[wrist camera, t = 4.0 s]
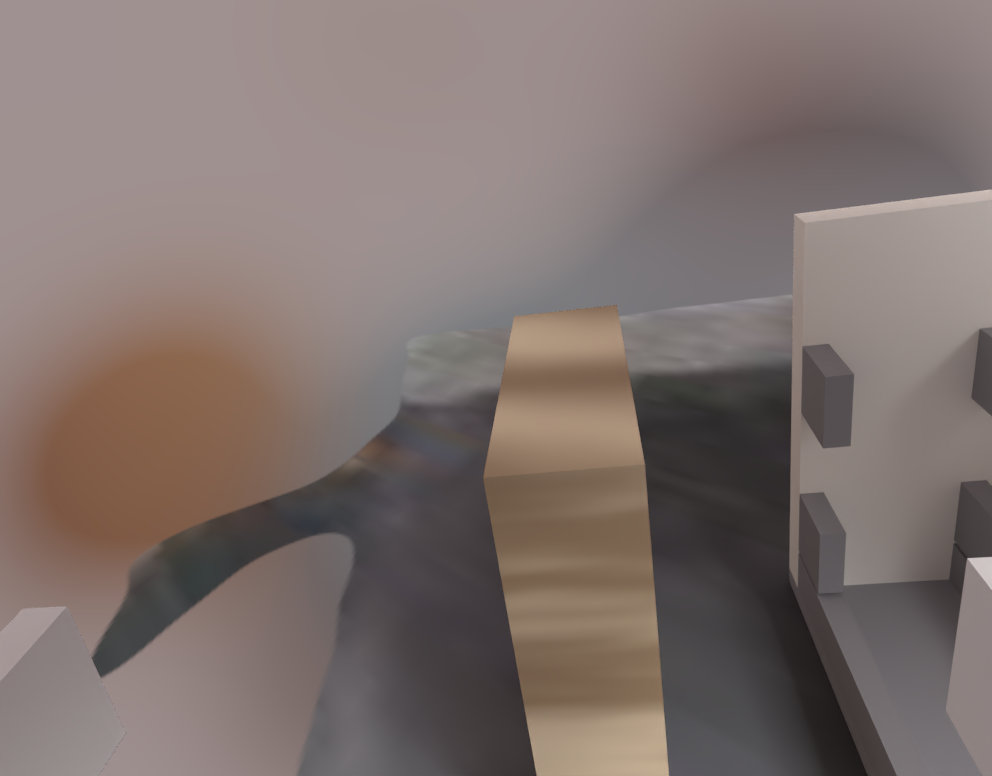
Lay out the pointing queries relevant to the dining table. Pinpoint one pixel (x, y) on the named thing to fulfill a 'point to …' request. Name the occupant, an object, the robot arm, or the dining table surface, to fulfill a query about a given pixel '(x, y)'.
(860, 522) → the cabinet
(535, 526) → the tan patterned box
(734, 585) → the dining table surface
